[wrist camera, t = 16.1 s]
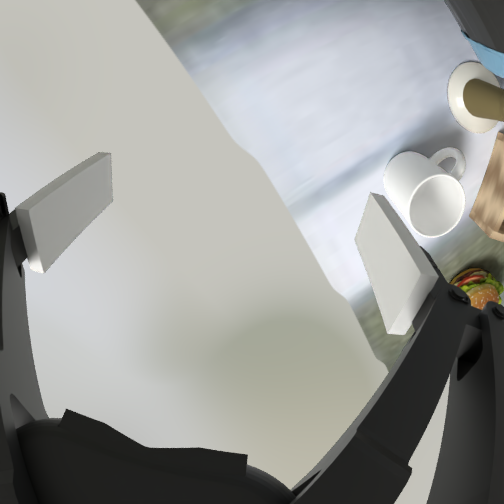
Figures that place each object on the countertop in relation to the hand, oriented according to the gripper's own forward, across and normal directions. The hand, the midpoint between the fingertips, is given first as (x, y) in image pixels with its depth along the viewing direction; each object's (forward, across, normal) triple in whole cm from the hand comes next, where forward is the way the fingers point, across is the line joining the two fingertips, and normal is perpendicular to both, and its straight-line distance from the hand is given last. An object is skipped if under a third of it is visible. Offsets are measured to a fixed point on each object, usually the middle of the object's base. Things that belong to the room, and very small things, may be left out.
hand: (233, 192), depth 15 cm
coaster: (+27, +30, +12) cm, 42 cm away
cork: (+26, +30, +12) cm, 42 cm away
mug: (+27, +23, -2) cm, 35 cm away
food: (+27, +45, -22) cm, 57 cm away
